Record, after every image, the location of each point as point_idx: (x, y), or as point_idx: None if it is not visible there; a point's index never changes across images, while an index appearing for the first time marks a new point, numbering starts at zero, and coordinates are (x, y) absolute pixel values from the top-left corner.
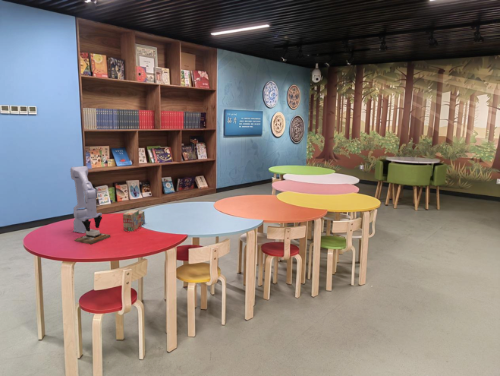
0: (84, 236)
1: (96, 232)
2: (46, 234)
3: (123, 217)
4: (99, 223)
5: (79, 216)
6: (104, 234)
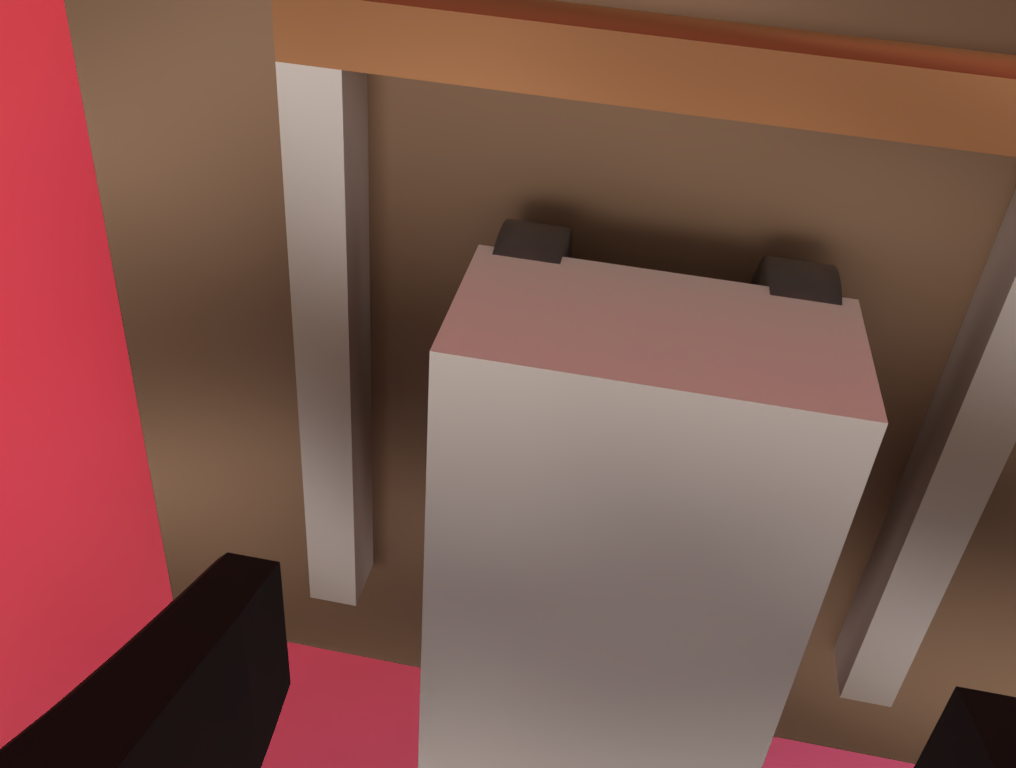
0: (864, 657)
1: (688, 362)
2: None
3: None
4: (40, 763)
5: None
6: (299, 64)
